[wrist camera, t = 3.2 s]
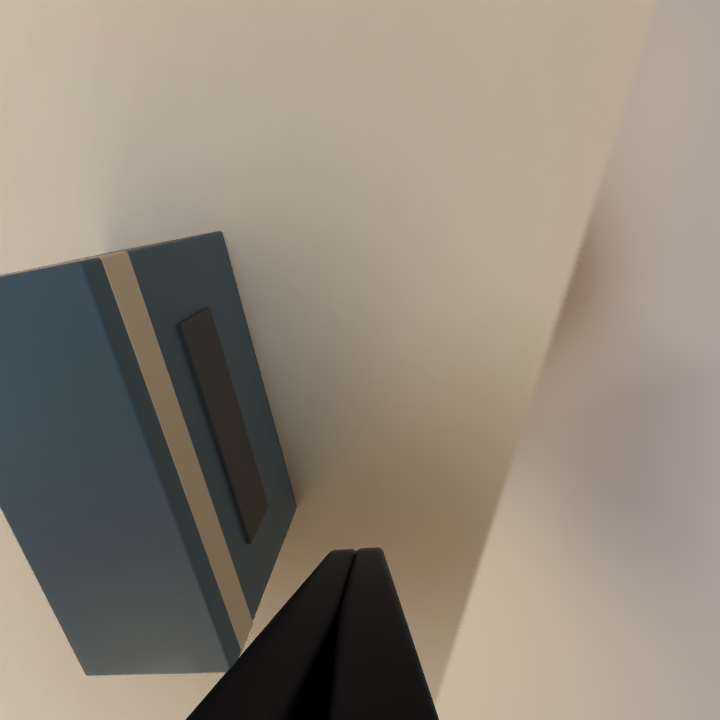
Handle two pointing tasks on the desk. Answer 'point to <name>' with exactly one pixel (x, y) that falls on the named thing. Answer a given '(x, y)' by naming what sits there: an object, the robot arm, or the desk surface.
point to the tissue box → (141, 455)
